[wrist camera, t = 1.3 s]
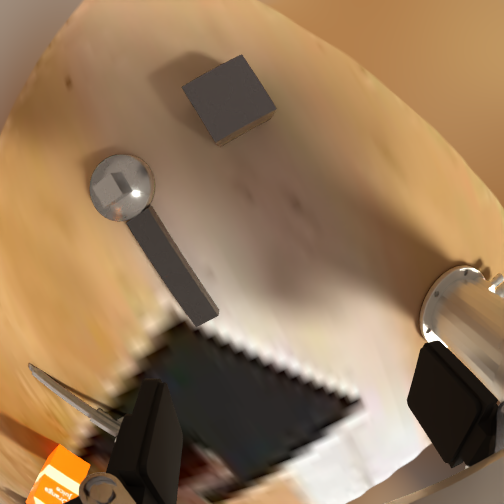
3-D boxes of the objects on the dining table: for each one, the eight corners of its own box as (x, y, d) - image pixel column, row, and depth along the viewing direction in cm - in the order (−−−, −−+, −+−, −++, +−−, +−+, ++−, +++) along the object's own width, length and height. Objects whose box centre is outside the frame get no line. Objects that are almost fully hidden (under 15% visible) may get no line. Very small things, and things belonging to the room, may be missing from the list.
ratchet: (134, 142, 31) (118, 139, 26) (233, 301, 36) (233, 322, 31) (87, 178, 31) (65, 181, 26) (184, 328, 37) (177, 350, 32)
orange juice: (91, 465, 45) (63, 539, 26) (77, 475, 47) (51, 541, 27) (58, 443, 43) (23, 516, 24) (48, 455, 45) (16, 519, 26)
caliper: (141, 418, 41) (132, 447, 35) (140, 422, 41) (131, 450, 35) (30, 362, 38) (11, 383, 32) (30, 366, 38) (11, 388, 32)
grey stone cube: (241, 72, 29) (241, 54, 23) (270, 119, 31) (276, 109, 25) (191, 100, 30) (181, 87, 24) (220, 146, 31) (215, 142, 25)
